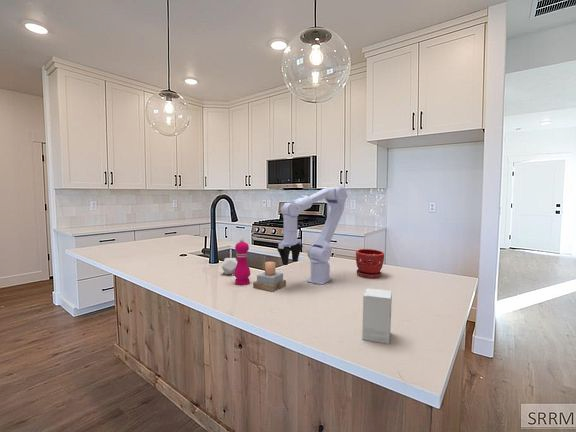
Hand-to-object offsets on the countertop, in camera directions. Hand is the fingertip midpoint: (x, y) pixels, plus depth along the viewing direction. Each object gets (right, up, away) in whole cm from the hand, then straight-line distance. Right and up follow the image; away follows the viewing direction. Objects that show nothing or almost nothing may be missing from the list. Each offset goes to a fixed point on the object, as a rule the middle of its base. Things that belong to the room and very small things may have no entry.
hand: (290, 263), depth 133 cm
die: (-29, -9, +22) cm, 37 cm away
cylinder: (-9, -5, +1) cm, 10 cm away
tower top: (-8, -8, +1) cm, 12 cm away
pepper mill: (-21, -10, +7) cm, 24 cm away
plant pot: (+38, -9, +19) cm, 44 cm away
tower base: (-9, -11, +1) cm, 14 cm away
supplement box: (+24, -14, -44) cm, 52 cm away
